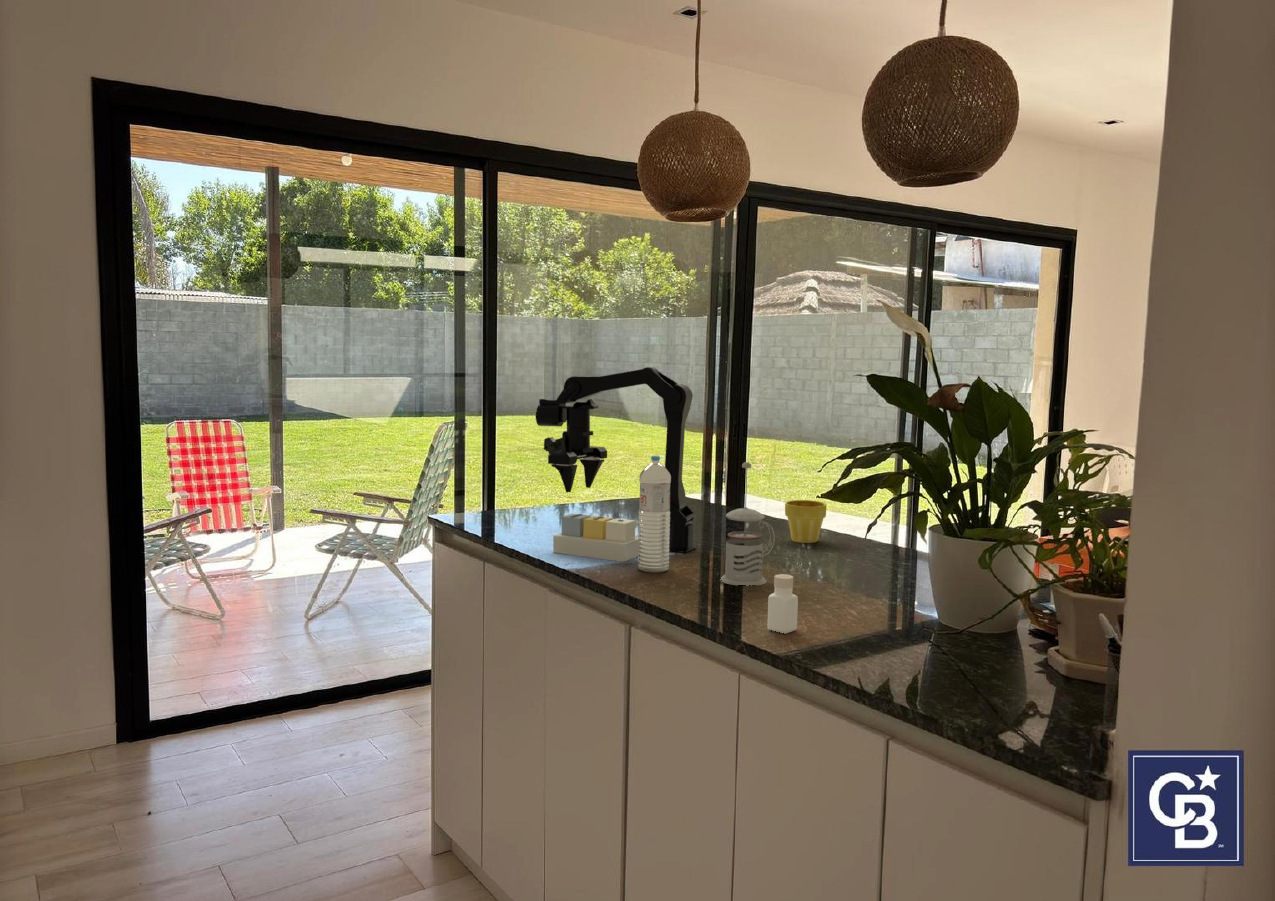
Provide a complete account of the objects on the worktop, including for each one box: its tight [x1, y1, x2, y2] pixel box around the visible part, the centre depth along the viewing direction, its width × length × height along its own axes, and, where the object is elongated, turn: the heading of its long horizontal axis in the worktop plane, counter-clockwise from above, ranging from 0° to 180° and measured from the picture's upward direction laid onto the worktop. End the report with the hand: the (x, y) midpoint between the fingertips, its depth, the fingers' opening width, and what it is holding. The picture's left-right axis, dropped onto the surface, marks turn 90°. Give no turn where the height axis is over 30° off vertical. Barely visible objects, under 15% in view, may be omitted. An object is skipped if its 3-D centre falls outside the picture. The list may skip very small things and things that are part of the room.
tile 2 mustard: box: [583, 515, 614, 540], centre depth 220 cm, size 5×5×5 cm
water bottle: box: [637, 455, 671, 574], centre depth 204 cm, size 7×7×25 cm
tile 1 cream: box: [606, 518, 636, 543], centre depth 217 cm, size 5×5×5 cm
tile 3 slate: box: [561, 513, 592, 537], centre depth 222 cm, size 5×5×5 cm
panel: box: [552, 532, 639, 563], centre depth 220 cm, size 19×9×4 cm, turn 63°
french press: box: [719, 461, 776, 587], centre depth 196 cm, size 10×12×25 cm
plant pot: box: [784, 499, 827, 544], centre depth 239 cm, size 10×10×10 cm
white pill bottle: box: [766, 573, 799, 635], centre depth 161 cm, size 4×4×10 cm
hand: (578, 489), depth 232 cm, fingers open, 9 cm apart
